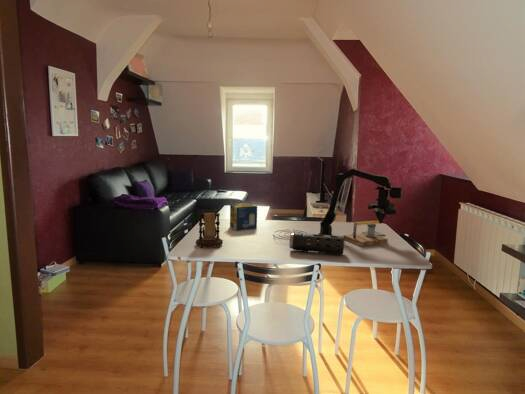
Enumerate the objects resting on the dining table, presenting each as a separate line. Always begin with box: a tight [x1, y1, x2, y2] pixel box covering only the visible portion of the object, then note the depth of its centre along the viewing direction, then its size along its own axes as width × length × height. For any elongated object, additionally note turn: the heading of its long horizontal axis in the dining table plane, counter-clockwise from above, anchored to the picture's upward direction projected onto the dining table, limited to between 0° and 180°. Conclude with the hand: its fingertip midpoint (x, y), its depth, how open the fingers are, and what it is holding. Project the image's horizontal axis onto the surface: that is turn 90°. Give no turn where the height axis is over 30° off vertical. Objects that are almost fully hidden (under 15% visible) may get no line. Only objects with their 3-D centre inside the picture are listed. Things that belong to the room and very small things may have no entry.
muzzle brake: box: [289, 231, 345, 256], centre depth 199 cm, size 10×28×10 cm, turn 78°
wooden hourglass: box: [195, 209, 224, 249], centre depth 207 cm, size 15×15×20 cm
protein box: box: [229, 202, 258, 231], centre depth 249 cm, size 10×15×16 cm
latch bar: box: [352, 219, 380, 238], centre depth 224 cm, size 19×2×9 cm, turn 113°
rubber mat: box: [361, 230, 386, 237], centre depth 242 cm, size 10×10×1 cm
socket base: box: [343, 232, 389, 247], centre depth 225 cm, size 20×16×2 cm
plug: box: [366, 224, 377, 238], centre depth 226 cm, size 5×5×10 cm
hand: (380, 223), depth 223 cm, fingers closed
